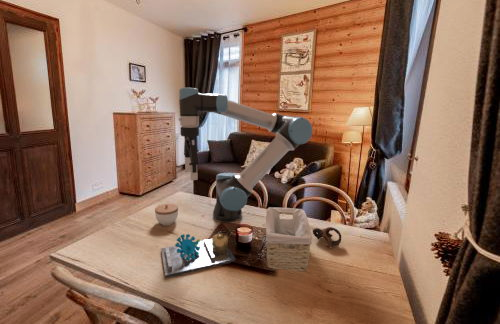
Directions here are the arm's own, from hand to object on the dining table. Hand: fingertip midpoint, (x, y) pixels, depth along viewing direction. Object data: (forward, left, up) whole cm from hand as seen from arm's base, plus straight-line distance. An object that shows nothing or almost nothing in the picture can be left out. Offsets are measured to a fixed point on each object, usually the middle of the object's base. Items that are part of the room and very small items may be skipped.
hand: (191, 175), depth 108 cm
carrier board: (+2, +20, -27) cm, 33 cm away
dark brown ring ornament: (-52, +30, -27) cm, 66 cm away
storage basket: (-31, +31, -27) cm, 51 cm away
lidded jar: (+10, -13, -27) cm, 32 cm away
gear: (+5, +20, -26) cm, 33 cm away
